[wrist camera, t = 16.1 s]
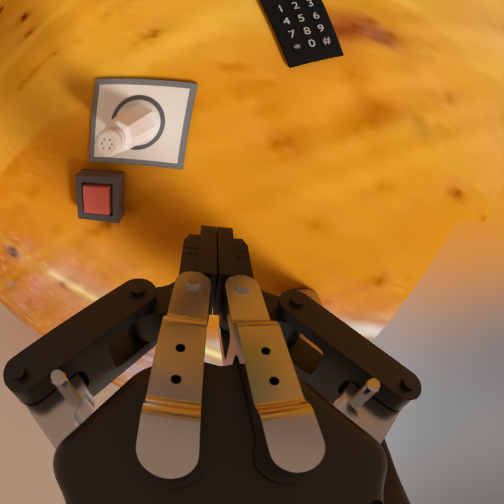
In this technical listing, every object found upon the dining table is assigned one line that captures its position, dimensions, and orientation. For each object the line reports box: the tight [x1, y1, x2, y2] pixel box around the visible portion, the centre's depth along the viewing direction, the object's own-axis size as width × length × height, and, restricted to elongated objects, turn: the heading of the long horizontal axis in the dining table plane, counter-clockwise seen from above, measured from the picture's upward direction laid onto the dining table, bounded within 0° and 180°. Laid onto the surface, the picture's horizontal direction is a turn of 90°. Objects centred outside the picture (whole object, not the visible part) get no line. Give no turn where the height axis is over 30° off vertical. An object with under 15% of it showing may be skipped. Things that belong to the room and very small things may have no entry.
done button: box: [83, 183, 113, 215], centre depth 34 cm, size 4×4×2 cm
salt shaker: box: [95, 104, 156, 157], centre depth 26 cm, size 5×5×11 cm
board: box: [90, 79, 198, 169], centre depth 31 cm, size 12×14×1 cm
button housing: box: [76, 169, 125, 223], centre depth 35 cm, size 7×7×2 cm
